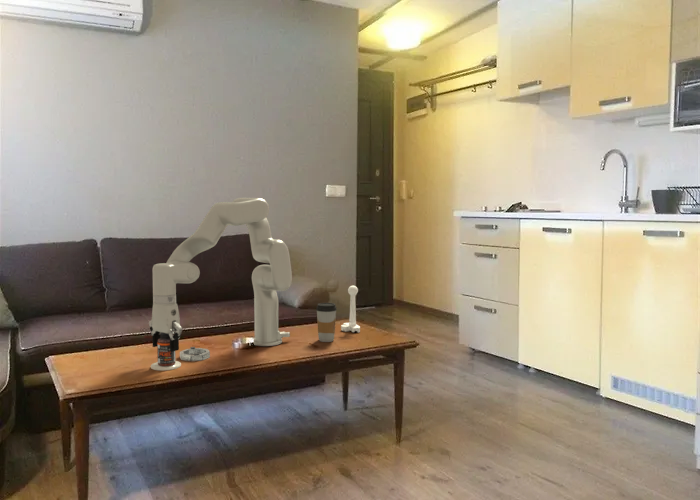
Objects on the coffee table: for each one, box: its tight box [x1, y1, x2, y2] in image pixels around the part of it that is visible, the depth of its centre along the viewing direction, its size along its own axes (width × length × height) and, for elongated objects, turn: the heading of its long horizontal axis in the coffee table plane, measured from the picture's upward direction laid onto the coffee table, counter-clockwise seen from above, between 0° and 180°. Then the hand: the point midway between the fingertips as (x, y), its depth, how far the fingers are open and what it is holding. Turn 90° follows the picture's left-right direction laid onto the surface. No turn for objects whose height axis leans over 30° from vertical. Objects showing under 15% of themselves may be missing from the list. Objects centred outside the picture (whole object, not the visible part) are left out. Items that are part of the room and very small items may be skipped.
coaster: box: [150, 360, 182, 372], centre depth 202 cm, size 10×10×1 cm
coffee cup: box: [316, 302, 337, 343], centre depth 240 cm, size 8×8×15 cm
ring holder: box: [179, 346, 211, 362], centre depth 214 cm, size 10×10×3 cm
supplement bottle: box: [156, 332, 177, 366], centre depth 201 cm, size 6×6×11 cm
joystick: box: [340, 285, 361, 333], centre depth 258 cm, size 11×8×20 cm
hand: (165, 348), depth 201 cm, fingers open, 9 cm apart
